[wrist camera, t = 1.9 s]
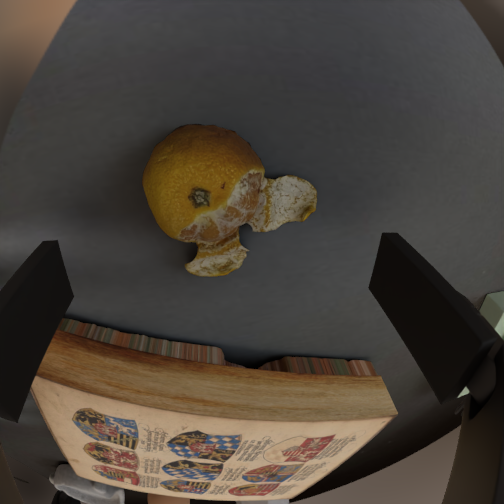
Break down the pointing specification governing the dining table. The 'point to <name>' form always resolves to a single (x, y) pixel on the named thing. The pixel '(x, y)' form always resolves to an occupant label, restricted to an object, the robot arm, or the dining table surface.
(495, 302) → the scale
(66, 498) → the controller
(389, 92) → the dining table surface
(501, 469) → the robot arm
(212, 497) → the book
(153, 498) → the egg
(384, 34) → the dining table surface
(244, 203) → the fruit
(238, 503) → the chicken leg
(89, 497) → the dish
